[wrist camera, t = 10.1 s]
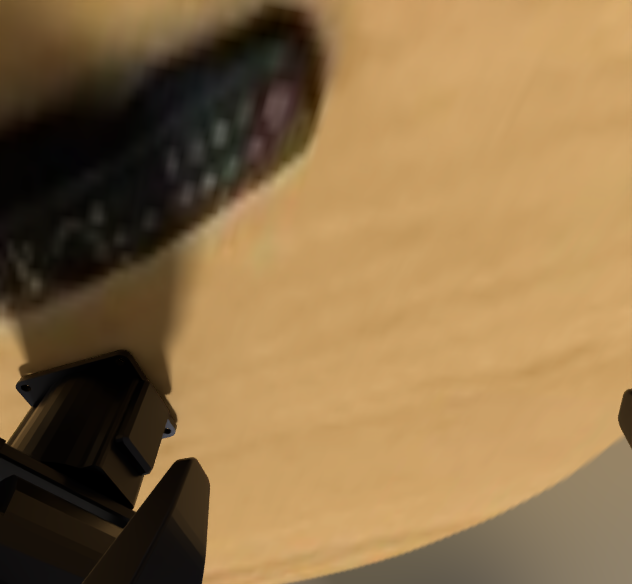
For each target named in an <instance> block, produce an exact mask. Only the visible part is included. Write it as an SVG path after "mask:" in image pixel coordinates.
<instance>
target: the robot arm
mask: <svg viewBox="0 0 632 584" xmlns="http://www.w3.org/2000/svg"><path fill="white" fill-rule="evenodd" d="M119 359H123V360H125V361H121V360H119ZM27 385H28V386H27ZM16 389H17V391H18V392H19V393H20V394H21V395H22V396H23V397H24V399H25V400H26V401H27V402H28V403H29V404H30V405H31V409H30V410H29V412H28V413H27V415H26V416H25V417H24V419H23V420H22V422H21V423H20V425H19V426H18V428H17V429H16V431H15V432H14V433H13V435H12V436H11V438H10V439H9V441H8V442H7V444H6V443H5V442H6V440H4V439H2V438H0V584H202V579H203V573H204V566H205V557H206V544H207V528H208V512H209V496H210V483H209V479H208V477H207V475H206V474H205V472H204V470H203V469H202V467H201V465H200V464H199V462H198V460H197V459H196V458H194V457H191V458H184V459H179V460H177V461H176V462H174V464H173V465H172V466H171V467H170V469H169V470H168V471H167V473H166V474H165V475H164V477H163V478H162V479H161V480H160V482H159V483H158V484H157V486H156V487H155V488H154V490H153V491H152V492H151V494H150V495H149V496H148V497H147V499H146V500H145V501H144V503H143V504H142V505H141V507H140V508H139V509H138V511H137V512H135V511H134V510H133V508H134V506H135V502H136V499H137V496H138V493H139V490H140V487H141V484H142V480H143V477H144V475H146V474H150V472H151V470H152V469H153V466H154V463H155V459H156V456H157V453H158V449H159V446H160V443H161V440H162V439H163V438H167V437H171V436H173V435H174V434H175V432H176V428H177V425H176V423H175V421H174V420H173V418H172V417H171V415H170V414H169V413H170V412H169V410H168V408H167V407H166V405H165V403H164V402H163V400H162V399H161V397H160V396H159V394H158V393H157V391H156V389H155V388H154V386H153V385H152V383H151V382H150V381H148V380H147V378H146V376H145V375H144V373H143V372H142V370H141V369H140V367H139V366H138V364H137V362H136V361H135V359H134V358H133V356H132V355H131V354H130V353H129V352H127V351H124V350H120V351H115V352H112V353H108V354H104V355H101V356H97V357H93V358H90V359H86V360H82V361H79V362H75V363H71V364H68V365H64V366H61V367H57V368H53V369H50V370H46V371H42V372H39V373H35V374H31V375H28V376H24V377H22V378H21V379H20V380H19V382H18V383H17V384H16ZM618 421H619V425H620V428H621V430H622V432H623V433H624V435H625V437H626V439H627V441H628V443H629V445H630V447H631V448H632V389H628V390H626V391H625V392H624V394H623V398H622V402H621V406H620V410H619V415H618ZM167 428H168V429H167Z"/></svg>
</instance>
